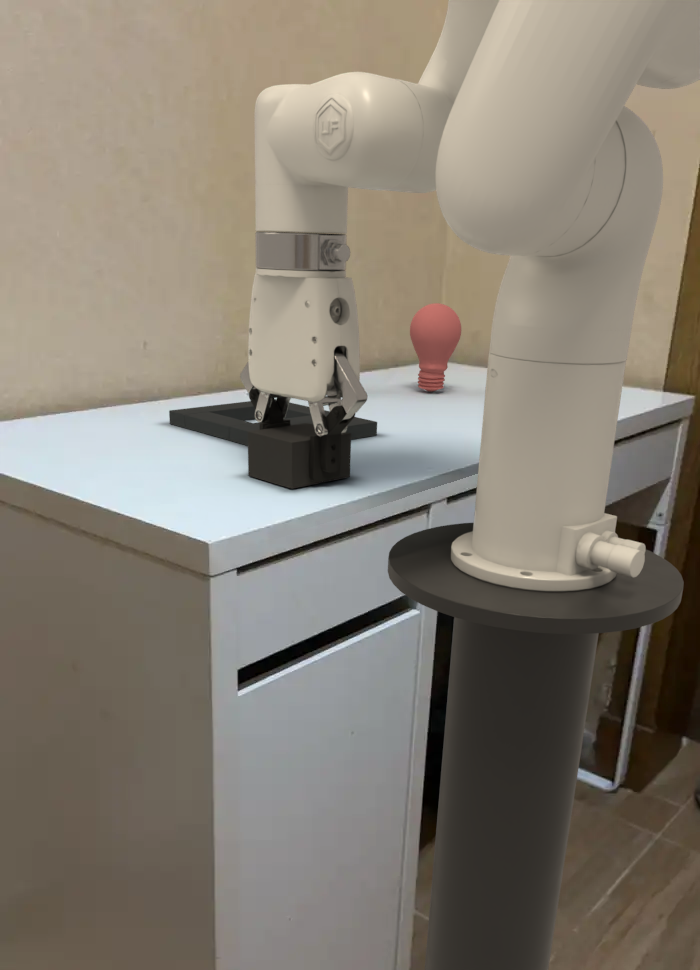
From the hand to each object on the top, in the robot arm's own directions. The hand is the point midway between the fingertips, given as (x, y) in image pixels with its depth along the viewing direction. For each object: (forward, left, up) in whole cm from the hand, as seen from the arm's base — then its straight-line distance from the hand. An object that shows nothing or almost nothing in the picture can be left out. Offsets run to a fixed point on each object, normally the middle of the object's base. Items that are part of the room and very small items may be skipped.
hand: (299, 470), depth 84 cm
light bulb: (+26, -48, -1) cm, 55 cm away
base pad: (+18, -12, -1) cm, 22 cm away
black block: (0, 0, -1) cm, 1 cm away
